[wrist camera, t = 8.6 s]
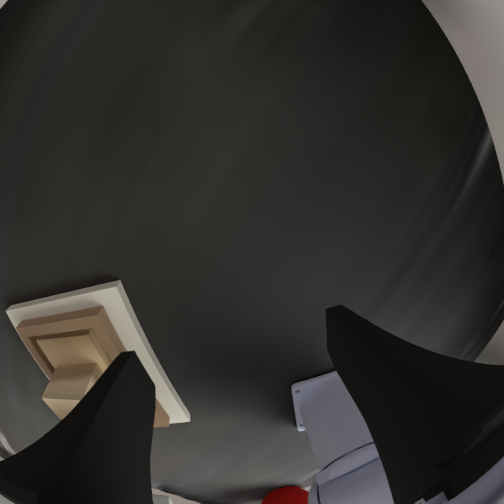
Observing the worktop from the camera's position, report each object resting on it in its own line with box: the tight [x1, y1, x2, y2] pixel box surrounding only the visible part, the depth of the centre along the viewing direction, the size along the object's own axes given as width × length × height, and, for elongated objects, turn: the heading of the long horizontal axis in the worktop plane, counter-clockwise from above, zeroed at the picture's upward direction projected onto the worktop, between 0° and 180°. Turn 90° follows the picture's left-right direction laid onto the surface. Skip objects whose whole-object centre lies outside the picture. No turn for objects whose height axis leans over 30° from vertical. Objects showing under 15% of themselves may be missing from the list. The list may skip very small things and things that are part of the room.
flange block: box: [36, 328, 112, 420], centre depth 17 cm, size 10×6×5 cm, turn 10°
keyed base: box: [6, 280, 190, 427], centre depth 19 cm, size 16×13×2 cm
